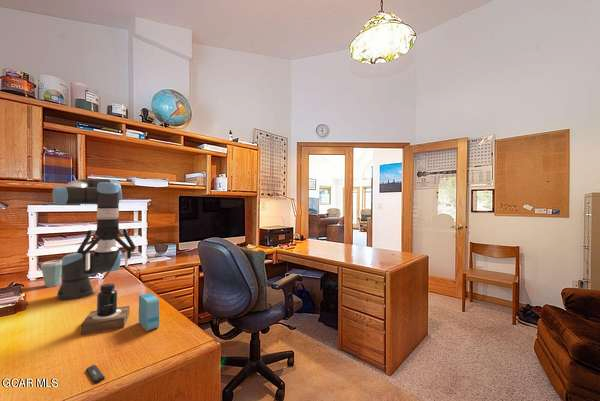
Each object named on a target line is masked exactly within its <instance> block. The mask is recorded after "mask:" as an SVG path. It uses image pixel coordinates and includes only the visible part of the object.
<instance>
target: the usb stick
mask: <svg viewBox="0 0 600 401" xmlns="http://www.w3.org/2000/svg"><path fill="white" fill-rule="evenodd" d="M85 372H86V373H87V375H88V376H89V378H90V379H91V381H92V382H93V383H94V384H96V383H97V384H99V383H101V382H103V381H104V380H105V379H106V377H105V375H103V373H102V372H101V370H100V369H99V368H98V366H97V365H96V364H92V365H91V366H88V367H87V368H86V369H85ZM102 380H103V381H102ZM100 381H101V382H100ZM98 382H99V383H98Z"/></svg>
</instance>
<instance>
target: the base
mask: <svg viewBox="0 0 600 401" xmlns="http://www.w3.org/2000/svg"><path fill="white" fill-rule="evenodd" d="M129 316H130V305H126V306H119V307H118V306H117V311H116V313H114V314H112V315H110V316H104V317H99V316H97V309H96V310H91V311H90V312H89V313H88V314H87V316H86V317H85V318H84V320H83V321H82V323H81V324H80V336H83V335H90V334H95V333H100V332H107V331H111V330H112V331H113V330H117V329H124V328H125V326H126V323H127V321H128V319H129Z"/></svg>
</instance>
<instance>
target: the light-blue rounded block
mask: <svg viewBox="0 0 600 401" xmlns="http://www.w3.org/2000/svg"><path fill="white" fill-rule="evenodd" d="M138 322H139V325H141V327H142V328H143V329H144V330H145V331H146V332H148V331H151V330H154V329H157V328H159V327H160V300H159V298H158V297H157V296H156V295H154V294H153V292H148V293H144V294H140V295H139V296H138Z"/></svg>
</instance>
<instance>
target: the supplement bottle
mask: <svg viewBox="0 0 600 401" xmlns="http://www.w3.org/2000/svg"><path fill="white" fill-rule="evenodd" d="M115 286H116V285H115V283H105V284H103V285H100V289H99V292H98V294H97V295H96V297H97V298H96V310H97V316H99V317H104V316H110V315H112V314H114V313H116V311H117V307H118V291H117V290H116V289H115V288H116V287H115Z"/></svg>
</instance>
